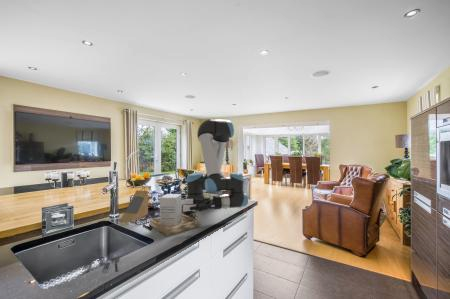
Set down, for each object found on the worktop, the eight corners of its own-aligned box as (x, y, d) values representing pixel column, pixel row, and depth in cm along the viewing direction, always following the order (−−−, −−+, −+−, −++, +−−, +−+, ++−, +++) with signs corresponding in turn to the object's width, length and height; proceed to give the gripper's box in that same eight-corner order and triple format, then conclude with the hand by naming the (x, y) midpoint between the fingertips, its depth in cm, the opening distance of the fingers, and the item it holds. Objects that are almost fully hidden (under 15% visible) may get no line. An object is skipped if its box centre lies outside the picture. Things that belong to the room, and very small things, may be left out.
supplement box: (166, 220, 116) (166, 193, 116) (182, 221, 115) (181, 193, 115) (159, 226, 107) (159, 197, 107) (176, 227, 106) (175, 197, 106)
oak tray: (179, 217, 124) (179, 212, 124) (198, 226, 109) (198, 220, 109) (149, 225, 112) (149, 219, 112) (166, 236, 97) (166, 229, 97)
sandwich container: (119, 221, 120) (118, 195, 120) (136, 213, 135) (136, 190, 135) (132, 222, 118) (131, 195, 118) (148, 214, 133) (147, 190, 133)
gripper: (226, 215, 105) (183, 219, 100) (215, 203, 129) (180, 206, 124) (226, 200, 105) (183, 203, 100) (215, 191, 129) (180, 193, 124)
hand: (182, 205), depth 112 cm, fingers open, 13 cm apart
